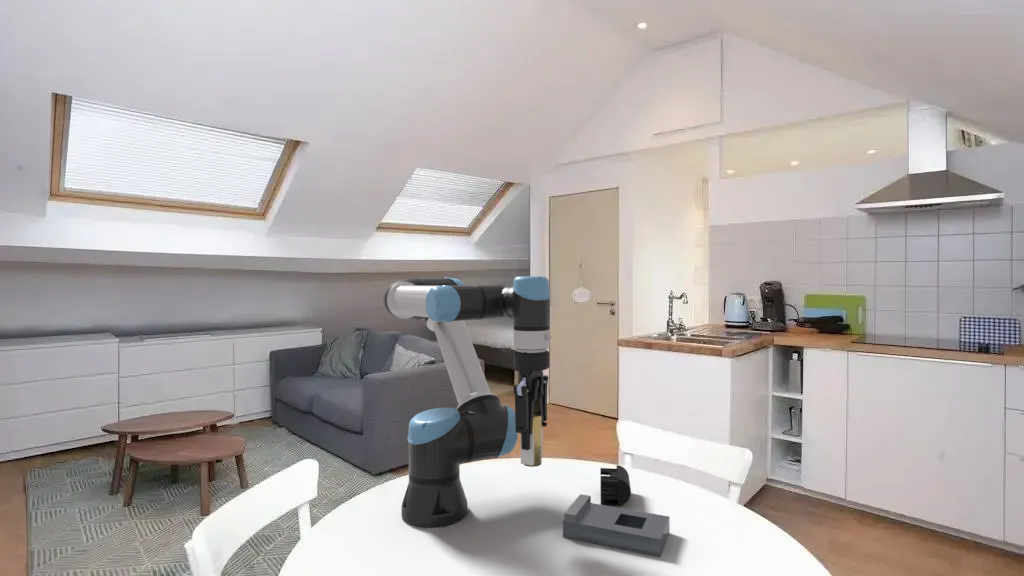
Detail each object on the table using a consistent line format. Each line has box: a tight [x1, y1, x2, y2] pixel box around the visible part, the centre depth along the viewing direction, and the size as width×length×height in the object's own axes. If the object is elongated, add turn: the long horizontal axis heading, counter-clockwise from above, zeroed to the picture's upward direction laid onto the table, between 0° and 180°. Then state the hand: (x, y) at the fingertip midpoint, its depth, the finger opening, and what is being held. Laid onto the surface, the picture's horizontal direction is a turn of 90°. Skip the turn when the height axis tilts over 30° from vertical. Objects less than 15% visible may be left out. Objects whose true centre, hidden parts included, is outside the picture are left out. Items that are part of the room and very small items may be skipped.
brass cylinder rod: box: [522, 414, 543, 468], centre depth 116 cm, size 4×4×10 cm
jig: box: [562, 493, 670, 558], centre depth 117 cm, size 20×11×5 cm, turn 65°
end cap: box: [599, 465, 632, 507], centre depth 135 cm, size 10×7×7 cm
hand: (531, 460), depth 116 cm, fingers closed on brass cylinder rod, 4 cm apart
